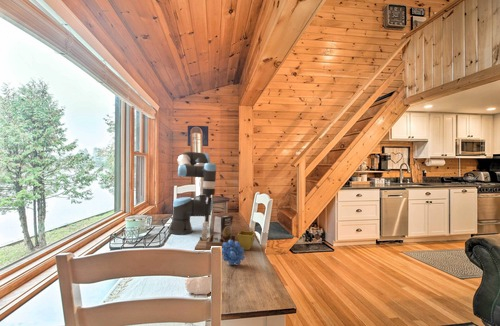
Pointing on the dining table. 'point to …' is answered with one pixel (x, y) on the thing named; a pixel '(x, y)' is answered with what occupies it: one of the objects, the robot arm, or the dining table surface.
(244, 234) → the flower pot
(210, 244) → the stand
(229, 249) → the blue flower head
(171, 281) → the dining table surface
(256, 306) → the dining table surface
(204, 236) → the latch bar
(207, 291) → the bust
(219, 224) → the coffee box
